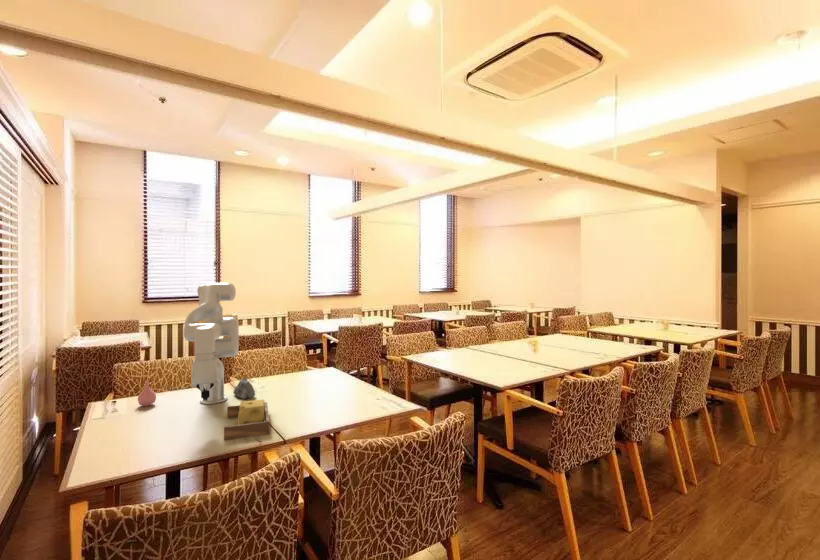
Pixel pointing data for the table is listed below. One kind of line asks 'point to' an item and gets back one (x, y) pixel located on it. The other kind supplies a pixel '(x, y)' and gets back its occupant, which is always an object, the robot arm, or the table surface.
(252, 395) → the mineral rock
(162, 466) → the table surface
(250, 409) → the cheese
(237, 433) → the wooden u-shaped bracket
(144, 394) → the pink rounded piece
